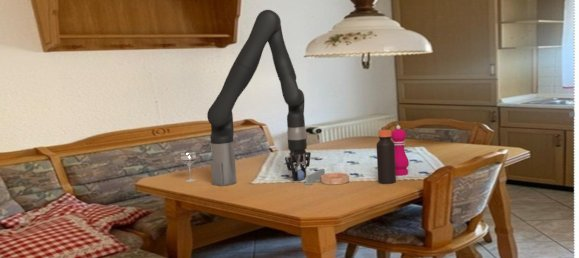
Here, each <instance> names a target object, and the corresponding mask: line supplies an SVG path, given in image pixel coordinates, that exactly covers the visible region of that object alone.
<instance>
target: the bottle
mask: <svg viewBox="0 0 579 258" xmlns="http://www.w3.org/2000/svg"><path fill="white" fill-rule="evenodd" d="M377 132H378V133H377V135H378V138H379V140H378V141H377V143H376V161H377V162H376V165H377V167H376V168H377V182H378V184H383V185H390V184H394V183H396V182H397V175H396V171H395V147H394V142H393V139H392V138H391V136H392V135H391V133H392V130H390V129H381V130H378V131H377Z"/></svg>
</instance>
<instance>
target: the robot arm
mask: <svg viewBox="0 0 579 258" xmlns="http://www.w3.org/2000/svg"><path fill="white" fill-rule="evenodd" d="M281 22H282V21H281V18H280V16H279V14H278V13H276V12H275V11H274V10H271V9H264V10H262V11H260V12H259V13H258V14H257V16H256V18H255V21H254V23H253V25H252V29H251V31H250V34H249V36H248V37H247V40H246V41H245V43H244V44H243V46H242V48H241V49H240V51H239V53H238V54H237V56H236V58H235V60H234V62H233V64H232V65H231V68H230V70H229V71H228V74H227V76H226V78H225V80H224V83H223V85H222V87H221V90H220V91H219V93H218V95H217V97H216V99H215V100H214V101H213V103H212V104H211V106H210V107H209V109H208V110H207V114H206V115H207V120H208V123H209V124H210V128H211V129H210V130H211V132H210V147H211V150H210V151H211V159H212V161H211V162H210V170H211V171H210V172H211V184H212V185H214V186H220V187H223V186H231V185H235V184H236V183H237V172H236V171H237V170H236V160H235V159H236V158H235V157H236V155H235V145H234V134H235V133H234V116H233V115H234V114H233V109H234V107H235V105H236V102H237V101H238V99H239V97H240V96H241V94H243V91H245V89H246V88H247V87H248V85H249V83H250V82H251V80H252V79H253V76H254V75H255V73H256V71H257V70H258V69H257V68H258V67H259V64H260V61H261V59H262V54H263V52H264V49H265V47H266V45H267V43H268V45H269V50H270V52H271V56H272V61H273V64H274V65H273V66H274V69H275V72H276V75H277V77H278V80H279V83H280V89H281V93H282V97H283V100H284V102H285V104H286V105H287V107H288V112H287V115H286V124H287V125H286V126H287V134H286V135H287V149H288V150H289V156H285V158H284V160H285V164H286V167H287V170H288V172H289V171H290V172H291V176H292V180H293V181H295V182H296V181H299V180H298V172H297V170H302V171H303V172H304V174H305V176H304V178H303V179H306V176H307V168H308V167H310V162H311V161H310V160H311V154H312V153H311V152H310V151H306V150H307V148H308V146H307V131H306V124H305V122H306V121H305V94H304V92H303V91H302V90H301V88H299V85H298V83H297V74H296V71H295V68H294V65H293V63H292V59H291V58H290V55H289V52H288V49H287V47H286V44H285V43H286V42H285V40H284V36H283V31H282V23H281ZM298 167H299V169H298Z"/></svg>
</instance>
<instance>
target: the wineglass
mask: <svg viewBox="0 0 579 258" xmlns="http://www.w3.org/2000/svg"><path fill="white" fill-rule="evenodd" d="M180 161H181V163H182V164H184V165H186V166H187V167H188V174H189V179H186V180H184V182H186V183H190V182H196V181H197V179H196V178H195V179H194V178H192V177H191V176H192V175H191V174H192V173H191V166H192V165H194V164H195V163H196V161H197V155H196V151H186V152H181V153H180Z"/></svg>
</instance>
